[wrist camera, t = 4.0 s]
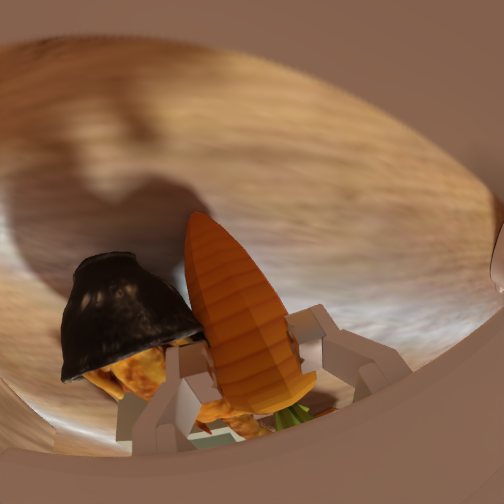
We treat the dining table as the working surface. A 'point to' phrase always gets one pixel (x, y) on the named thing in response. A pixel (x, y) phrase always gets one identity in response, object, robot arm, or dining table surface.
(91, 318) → the bowl of food
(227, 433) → the open rectangular box
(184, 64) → the dining table surface
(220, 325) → the carrot
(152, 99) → the dining table surface
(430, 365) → the robot arm
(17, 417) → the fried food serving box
